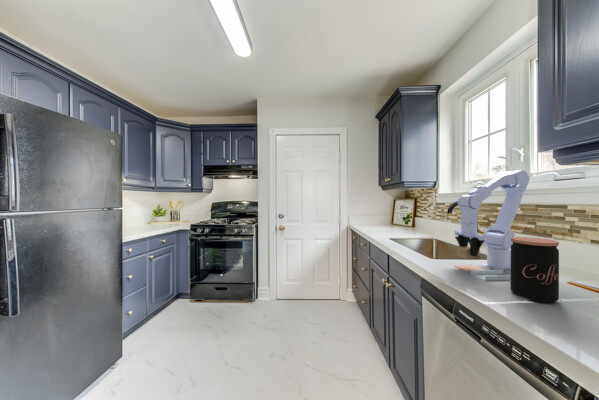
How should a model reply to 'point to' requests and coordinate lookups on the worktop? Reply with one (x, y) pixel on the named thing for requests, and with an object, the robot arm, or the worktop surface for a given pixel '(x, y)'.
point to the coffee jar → (535, 269)
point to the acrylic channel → (490, 274)
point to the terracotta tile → (468, 268)
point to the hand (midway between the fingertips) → (468, 254)
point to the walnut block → (466, 252)
